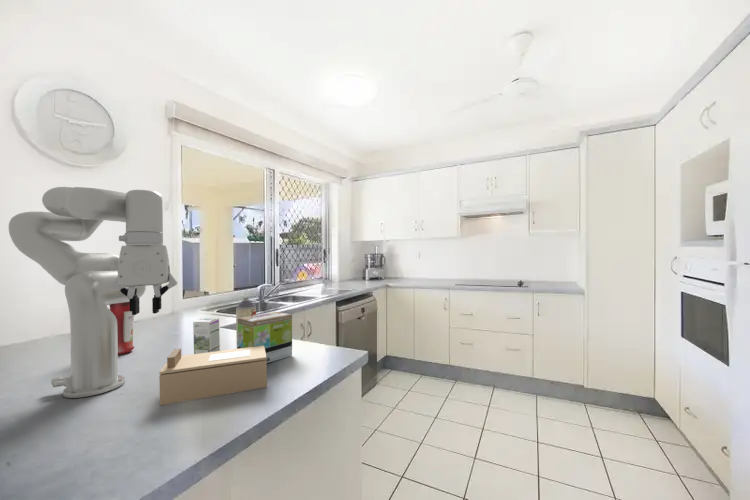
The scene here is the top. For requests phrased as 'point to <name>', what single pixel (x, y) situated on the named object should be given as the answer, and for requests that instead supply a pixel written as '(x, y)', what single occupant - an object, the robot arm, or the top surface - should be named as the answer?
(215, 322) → the syrup box
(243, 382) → the mailer box
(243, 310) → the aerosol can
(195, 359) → the mailer lid
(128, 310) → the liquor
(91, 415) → the top surface
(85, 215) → the robot arm
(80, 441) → the top surface
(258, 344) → the tea box
